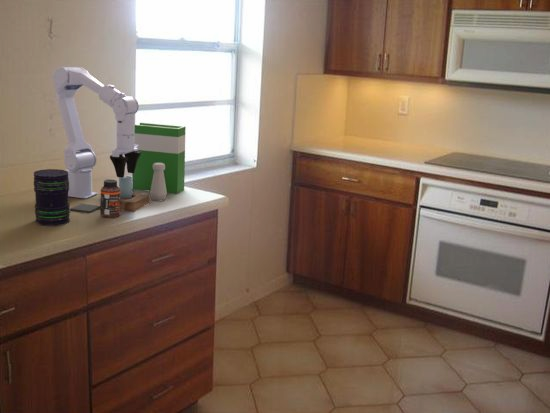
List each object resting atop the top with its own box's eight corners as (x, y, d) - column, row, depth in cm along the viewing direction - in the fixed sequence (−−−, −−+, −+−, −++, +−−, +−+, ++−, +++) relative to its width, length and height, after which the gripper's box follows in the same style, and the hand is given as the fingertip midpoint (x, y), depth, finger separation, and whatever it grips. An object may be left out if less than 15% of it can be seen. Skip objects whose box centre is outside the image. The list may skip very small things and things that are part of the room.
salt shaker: (163, 202, 214) (163, 165, 210) (147, 200, 215) (147, 163, 211) (169, 198, 219) (169, 162, 216) (154, 196, 220) (154, 160, 217)
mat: (70, 210, 197) (70, 208, 197) (81, 205, 204) (81, 203, 204) (89, 213, 196) (89, 211, 195) (101, 207, 202) (100, 206, 202)
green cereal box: (132, 189, 229) (132, 124, 223) (140, 185, 236) (140, 122, 230) (177, 194, 226) (178, 128, 220) (184, 189, 233) (185, 126, 227)
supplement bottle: (110, 219, 190) (109, 183, 187) (96, 215, 193) (96, 180, 190) (124, 215, 195) (124, 180, 192) (110, 212, 198) (110, 177, 195)
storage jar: (36, 227, 179) (33, 176, 175) (34, 217, 187) (32, 169, 183) (72, 224, 183) (70, 175, 179) (68, 215, 191) (67, 168, 187)
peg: (116, 204, 205) (116, 178, 203) (122, 201, 209) (122, 175, 207) (128, 205, 204) (128, 179, 202) (134, 203, 208) (134, 177, 206)
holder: (100, 207, 203) (100, 198, 202) (117, 199, 214) (117, 190, 213) (133, 211, 200) (133, 202, 199) (149, 203, 211) (149, 194, 211)
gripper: (126, 138, 193) (126, 180, 197) (146, 132, 207) (146, 172, 210) (106, 136, 195) (106, 178, 198) (127, 130, 208) (127, 170, 212)
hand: (125, 175), depth 204 cm, fingers open, 7 cm apart
